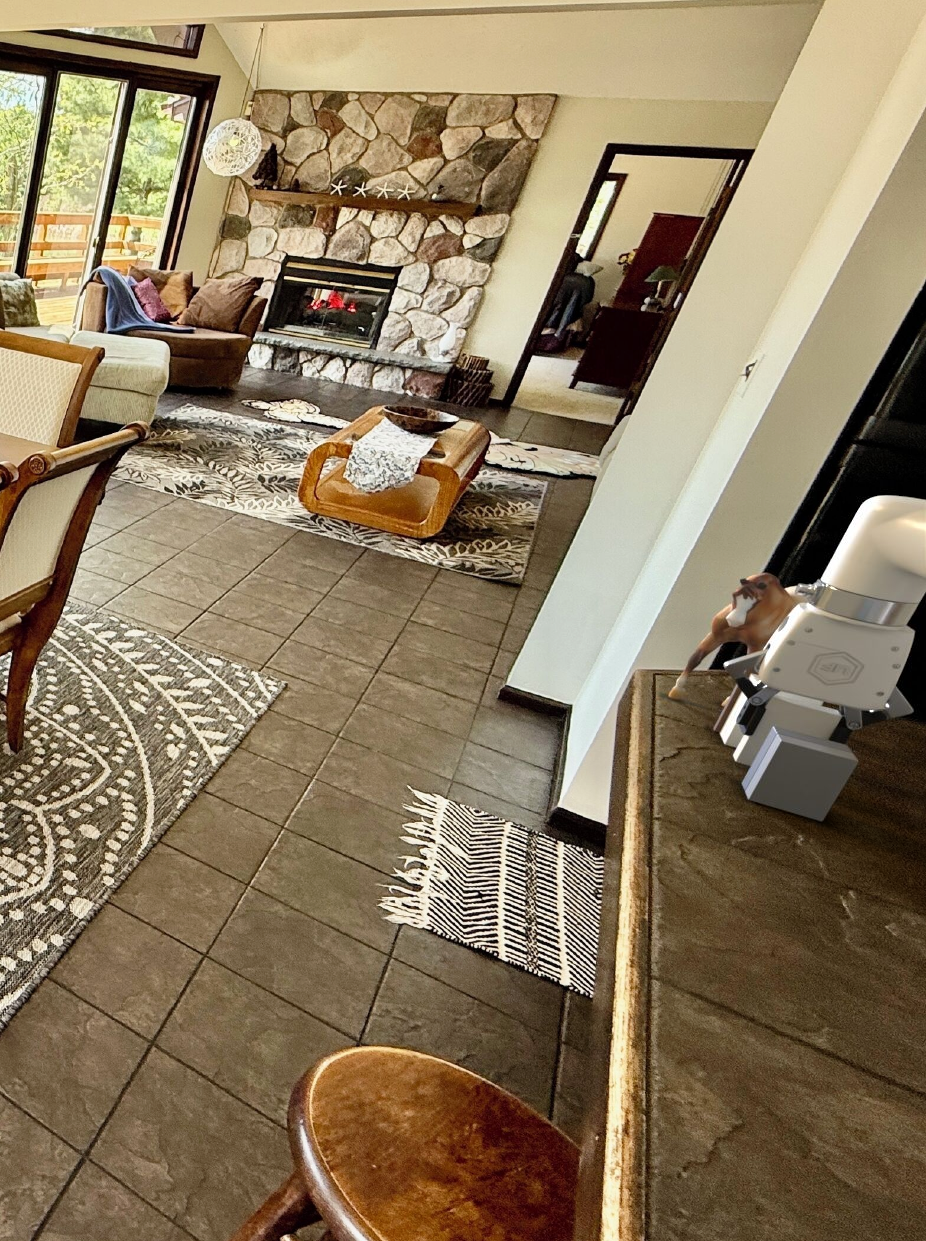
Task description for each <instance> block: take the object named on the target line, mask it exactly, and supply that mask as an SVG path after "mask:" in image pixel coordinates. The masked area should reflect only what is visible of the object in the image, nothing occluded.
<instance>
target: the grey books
mask: <svg viewBox="0 0 926 1241" xmlns="http://www.w3.org/2000/svg"><path fill="white" fill-rule="evenodd" d="M859 761H860V760H858V758H857V757H856V755H855V754H854V752H852V750H851V748H850V747H849V746H848V744H845V745H844V744H841V743H837V742H833V741H829V740H825V739H821V738H817V737H813V736H810V735H806V734H802V733H798V732H794V731H790V730H786V729H783V728H779V727H775V726H773V727H772V729H771V731H770V733H769V734H768V736H767V738H766V740H765V742H764V743H763V745H762V747H761V749H760V751H759V753H758V754H757V756H756V758H755V760H754V762H753V763H752V765H751V766H749V769H748V771H747V773H746V775H745V776H744V778H743V780H742V782H741V786H742V788H743V790H744V794H745V795H746V798H747V800H748V801H751V802H755V803H758V804H761V805H765V806H768V807H770V808H774V809H778V810H781V811H784V812H788V813H793V814H794V815H797V816H798V815H799V816H801V817H805V818H808V819H812V820H814V821H819V822H823V821H824V820H825V818H826V817H827V816H828V813H829V812H830V810H831V808H832V806H833V805H834V803H835V801H836V800H837V798H838V797H839V796H840V793H841V792H842V790H843V788H844V786H846V783H847V782H848V780H849V778H850V777H851V775H852V773H853V771H854V770H855V768H856V767H857V765H858V764H859Z"/></svg>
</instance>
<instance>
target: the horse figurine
mask: <svg viewBox="0 0 926 1241" xmlns="http://www.w3.org/2000/svg"><path fill="white" fill-rule="evenodd" d="M739 583H740V585H741V586H738V588H736V589H735V591H733V592H732V593H731V597H732V602H731V603H730V604H728V605H726V606H725V607H724V608H723V609H722V610H720V611H719V612H718V613H716V614H715V615H714V616H713V618H712V620H711V625H710V630H711V631H710V632H709V633H708V634H707V635H706V636H705V637H704V638H703V640H702V641H701V642H700V643H699V644H698V646H697V648H696V650H695V651H694V652H693V653H692V654H691V655H690V657H689V659H688V660H687V664H686V666H685V668H684V669H683V671H682V672H681V674H680V676H679V677H678V678H677V679H676V683H675V685H674V686H673V687H672V688H671V690H670V691H669V693H668V697H669V698H670V699H673V700H681V699H683V698H684V697H685V694H686V688H684V686H685V685H686V684H687V683H688V679H689V677H690V676H691V673H693V671H694V670H695V669H696V668H697V667H699V666H700V665H701V663H702V662H703V661H704V659H705V658H706V657H707V656H709V655H710V654H712V653H713V652H714V651H715V650H717V649H718V648H719V647H721V646H722V645H723V644H726V643H729V642H730V643H737V642H740V643H742V644H744V645H746V646H747V650H746V655H749V654H752V653H755V652H758V651H761V650H763V649H764V647H765V646H766V644H767V643H768V641H769V640H770V638H771V637H772V636H773V634H774V633H775V631H776V630H777V629H778V627H779V626H780V625H781V623H782V622H783V621H784V620H785V618H786V617H787V616H788V615H789V614H790V613H791V612H792V610H793V609H794V608H795V607H796V606H797V605H798V604H799V603H808V602H809V601H808V600H807V598H806V597H803V596H802V595H797V594H795V589H796V587H797V586H798V585H794V586H789V587H785V588H784V587H783V585H782V584H781V582H780V580H779V578H778V577H777V576H775V575H774V574H772V573H769V572H761V573H760V574H752V575H750V576H748V577H747V578H745V577H742V578H740V579H739ZM730 696H731V695H730ZM730 696H728V697H726V699H725V700H723V702H722V703H721V707H723V708H724V707H725V705H726V703H727V701H728V699H729V697H730Z"/></svg>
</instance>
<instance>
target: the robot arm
mask: <svg viewBox="0 0 926 1241" xmlns="http://www.w3.org/2000/svg"><path fill="white" fill-rule="evenodd" d="M796 586H797V587H796V589H795V594H797V595H802V596H803V597H806V598H807V600H808V601H809V602H808V603H799V604H798V605H797V606H796V607H795V608H794V609H793V610H792V612H791V613H790V614H789V615H788V616H787V617H786V618H785V620H784V621H783V622H782V623H781V625H780V626H779V627H778V629H777V630H776V631H775V633H774V634H773V636H772V637H771V638H770V640H769V641H768V643H767V644H766V646H765V647H764V649H763V650H761V651H758V652H755V653H752V654H749V655H747V654H746V655H743V656H742V655H741V656H739V657H736V658H733V659H730V660H727V661H725V662H724V663H723V667H724V668H723V669H725V671H726V672H727V674H728V675H729V676H730V678H731V679H732V681H734V683H735V685H736V684H737V685H738V687H739V688H740V689H741V691H742V692H743V693H744V695H745V696H746V697H747V700H746V701H745V703H744V705H743V707H742V709H741V711H740V713H739V714H738V716H737V719H736V723H737V724H740V725H739V727H740V729H741V731H742V733H743V735H747V736H750V735H751V736H752V735H753V733H754V732H755V730H756V728H757V726H758V724H759V723H760V721H761V719H762V717H763V715H764V714H765V712H766V708H765V707H764V705H765V703H766V701H767V700H769V699H770V698H771V697H773V696H774V695H776V694H777V693H779V692H780V691H783V692H787V693H791V694H795V695H799V696H803V697H807V698H811V699H815V700H819V701H823V703H828V704H832V705H836V706H839V707H838V708H839V713H840V714H841V716H842V718H841V719H840V721H839V723H838V724H837V726H836V728H835V729H834V731H833V733H832V734H831V736H830V738H829V739H828V740H829V741H833V742H837V743H841V744H844V745H846V743H847V742H848V740H849V739H850V736H851V735H852V734H853V732H854V731H858V730H860V729H862V728H863V727H867V726H869V725H874V724H878V723H881V722H885V721H886V720H888V719H889V720H890V719H894V718H899V717H904V716H907V715H911V714H912V713H913V712H914V711H915V710H914V708H913V706H912V705H911V704H910V703H909V702H908V700H907V699H906V697H905V696H904V695H903V693H902V692H901V690H899V688H898V686H896V685H897V684H898V681H899V680H900V679H899V678H900V676H901V674H902V672H903V670H904V667H905V665H906V662H907V659H908V657H909V654H910V652H911V648H912V645H913V642H914V640H915V633H916V630H914V629H913V628H911V627H910V626H908V623H909V621H910V620H911V618H912V616H913V615H914V613H915V612H916V610H917V607H918V606H919V604H920V602H921V600H922V599H923V597H924V596H925V594H926V499H923V498H922V499H921V498H916V497H909V496H899V495H887V494H886V495H877V496H873V497H870V498H868V499H866V500H865V501H864V502H862V504H861V505H860V507H859V508H858V510H857V512H856V513H855V515H854V517H853V519H852V521H851V522H850V524H849V525H848V528H847V530H846V532H845V533H844V535H843V537H842V539H841V540H840V542H839V544H838V546H837V548H836V550H835V551H834V554H833V556H832V558H831V559H830V561H829V562H828V565H827V566H826V568H825V570H824V572H823V574H822V576H821V578H820V579H819V578H818V579H817V580H816V582H814V583H813V584H811V583H808V584H805V583H798V584H797V585H796ZM753 667H755V671H756V672H757V673H758V674H759V675H758V676H759V679H760V681H758V682H757V683H755V684H753V683H752V682H751V680H750V679H749V678H748V677H747V675H746V674H745V673H744V672H745V670H747V669H750V668H753Z"/></svg>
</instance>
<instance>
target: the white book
mask: <svg viewBox="0 0 926 1241" xmlns="http://www.w3.org/2000/svg"><path fill="white" fill-rule="evenodd" d="M764 707H765V708H766V712H765V714H764V715H763V717H762V719H761V721H760V723H759V724H758V726H757V728H756V730H755V732H754V733H753V735H752V736H751V735H750V736H747V735H744V736H743V738H742V739H741V741H740V743H739V745H738V747H737V748H736V749H735V750H734V752H733V754H732V757H733V759H734V761H735V763H739V764H742V765H745V766H749V767H751V765H752V763H753V762H754V760H755V758H756V756H757V754H758V753H759V751H760V749H761V747H762V745H763V743H764V742H765V740H766V738H767V736H768V734H769V733H770V731H771V729H772V727H773V726H775V727H779V728H783V729H786V730H790V731H794V732H798V733H802V734H806V735H810V736H813V737H817V738H821V739H825V740H828V739H829V738H830V736H831V734H832V733H833V731H834V729H835V728H836V726H837V724H838V723H839V721H840V719H841V718H842V716H841V714H840V710H838V709H834V708H830V707H826V706H823V705H822V706H819V705H815V704H810V703H806V702H802V701H798V700H794V699H790V698H786V697H782V696H778V695H774V696H773V697H771V698H770V699H769V700H767V701H766V703H765V705H764Z"/></svg>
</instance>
